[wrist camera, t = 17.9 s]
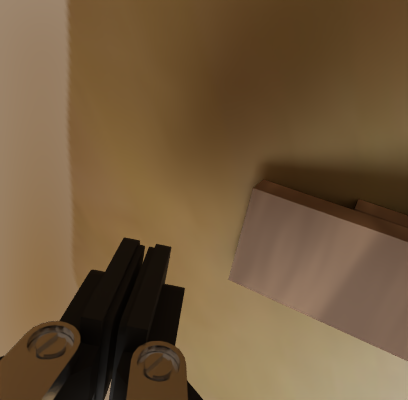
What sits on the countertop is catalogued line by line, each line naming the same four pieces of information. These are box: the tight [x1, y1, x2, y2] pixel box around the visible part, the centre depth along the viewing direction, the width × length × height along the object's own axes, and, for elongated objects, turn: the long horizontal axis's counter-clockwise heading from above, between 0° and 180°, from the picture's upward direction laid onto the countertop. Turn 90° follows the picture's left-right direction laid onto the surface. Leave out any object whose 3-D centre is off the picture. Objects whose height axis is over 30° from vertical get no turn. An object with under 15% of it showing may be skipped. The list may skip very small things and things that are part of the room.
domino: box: [228, 180, 408, 361], centre depth 16 cm, size 2×5×10 cm
